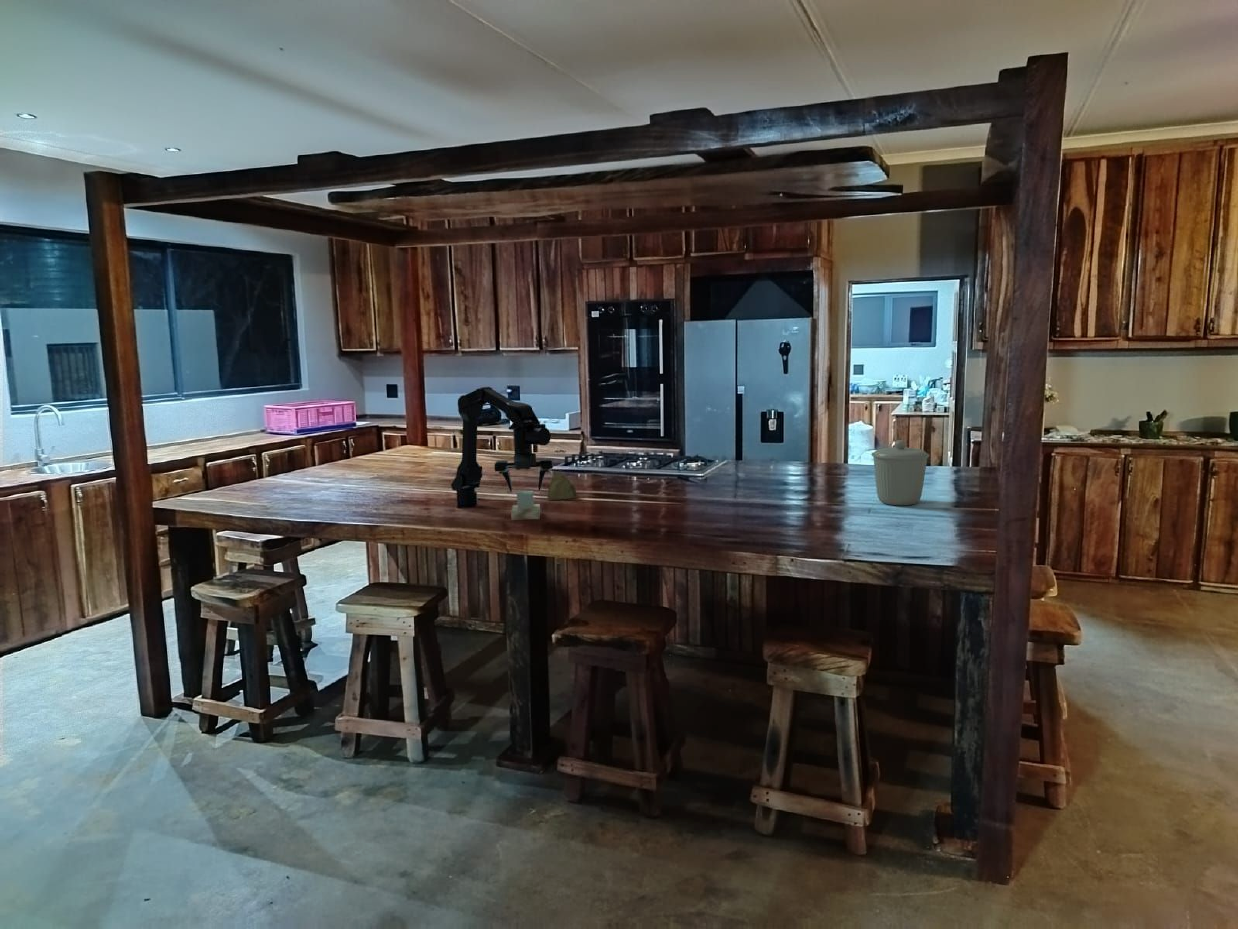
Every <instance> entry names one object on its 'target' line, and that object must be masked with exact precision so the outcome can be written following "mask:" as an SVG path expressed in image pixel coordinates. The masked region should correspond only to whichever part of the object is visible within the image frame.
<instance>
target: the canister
mask: <svg viewBox="0 0 1238 929" xmlns="http://www.w3.org/2000/svg"><path fill="white" fill-rule="evenodd" d="M870 455H871V456H872V457H873V467H874V469H873V470H874V477H875V488H876V494H877V498H878V500H879V501H880V502H881V503H883V504H884V505H885V504H886V505H891V506H901V507H902V506H912V505H915V504H918V503H919V501H920V500H921V497H922V495H923V489H924V482H925V478H926V477H925V476H926V469H927V462H928V458H929V457H930V454H929V453H927V452H926V451H925V450H923V449H921V448H915V447H907V443H906V441H905V440H904V439H903V440H902V439H897V440H896V441H895V442H894V447H893V446H892V447H884V448H882V447H881V448H879V449H876V450H875V451H874V452H871V454H870Z"/></svg>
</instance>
